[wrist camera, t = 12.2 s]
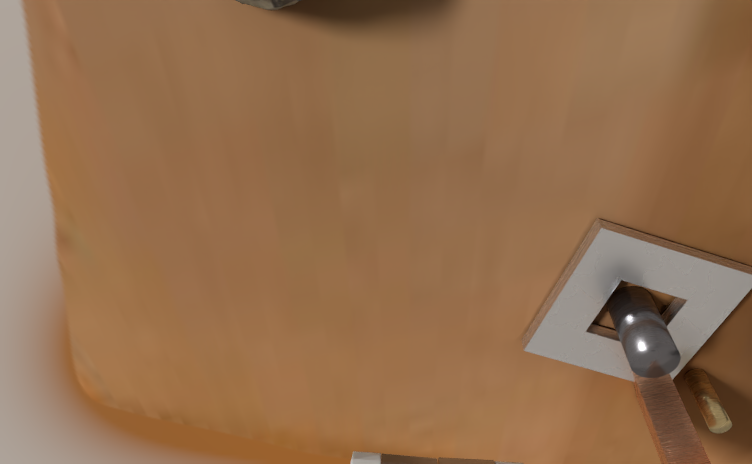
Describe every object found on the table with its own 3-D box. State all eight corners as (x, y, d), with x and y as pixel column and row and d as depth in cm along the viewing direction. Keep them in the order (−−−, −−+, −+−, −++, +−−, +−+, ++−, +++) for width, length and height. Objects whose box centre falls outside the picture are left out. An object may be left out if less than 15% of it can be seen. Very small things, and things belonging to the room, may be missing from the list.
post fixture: (665, 272, 43) (696, 329, 38) (707, 378, 49) (740, 440, 44) (601, 295, 45) (623, 353, 40) (649, 396, 50) (674, 457, 45)
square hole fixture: (597, 218, 41) (647, 329, 32) (777, 275, 42) (875, 396, 33) (504, 366, 49) (523, 488, 40) (658, 409, 50) (710, 536, 41)
